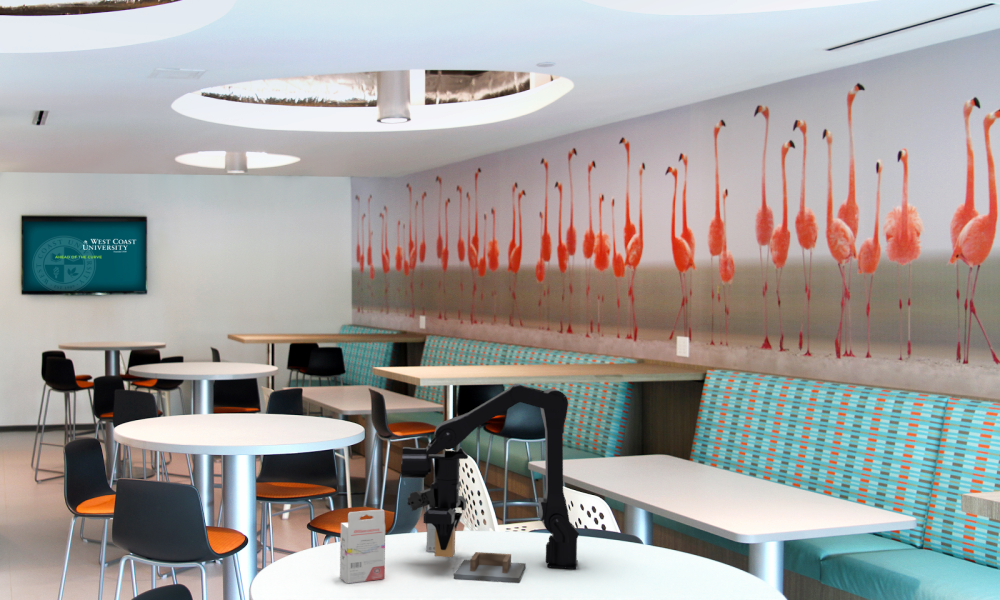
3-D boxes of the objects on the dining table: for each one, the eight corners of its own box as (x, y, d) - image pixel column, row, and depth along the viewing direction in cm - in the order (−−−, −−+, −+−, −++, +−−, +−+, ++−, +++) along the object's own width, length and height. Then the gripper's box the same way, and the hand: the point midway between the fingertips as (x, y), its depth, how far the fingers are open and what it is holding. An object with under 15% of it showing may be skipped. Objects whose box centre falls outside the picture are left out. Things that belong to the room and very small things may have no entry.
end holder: (525, 567, 201) (525, 552, 201) (518, 582, 189) (519, 566, 189) (464, 564, 203) (464, 548, 203) (453, 578, 191) (454, 562, 191)
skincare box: (444, 552, 213) (445, 501, 214) (426, 552, 213) (427, 501, 214) (446, 546, 219) (447, 497, 220) (428, 545, 219) (429, 496, 220)
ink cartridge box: (377, 573, 194) (378, 505, 195) (385, 579, 190) (386, 509, 190) (338, 577, 190) (340, 508, 191) (345, 584, 186) (347, 512, 186)
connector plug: (454, 553, 203) (455, 518, 203) (452, 557, 200) (453, 521, 200) (437, 552, 204) (438, 517, 204) (434, 556, 201) (435, 520, 201)
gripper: (420, 470, 213) (419, 536, 212) (401, 483, 194) (399, 556, 194) (467, 472, 211) (465, 539, 211) (451, 486, 193) (450, 559, 192)
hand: (444, 548), depth 202 cm, fingers closed on connector plug, 3 cm apart
